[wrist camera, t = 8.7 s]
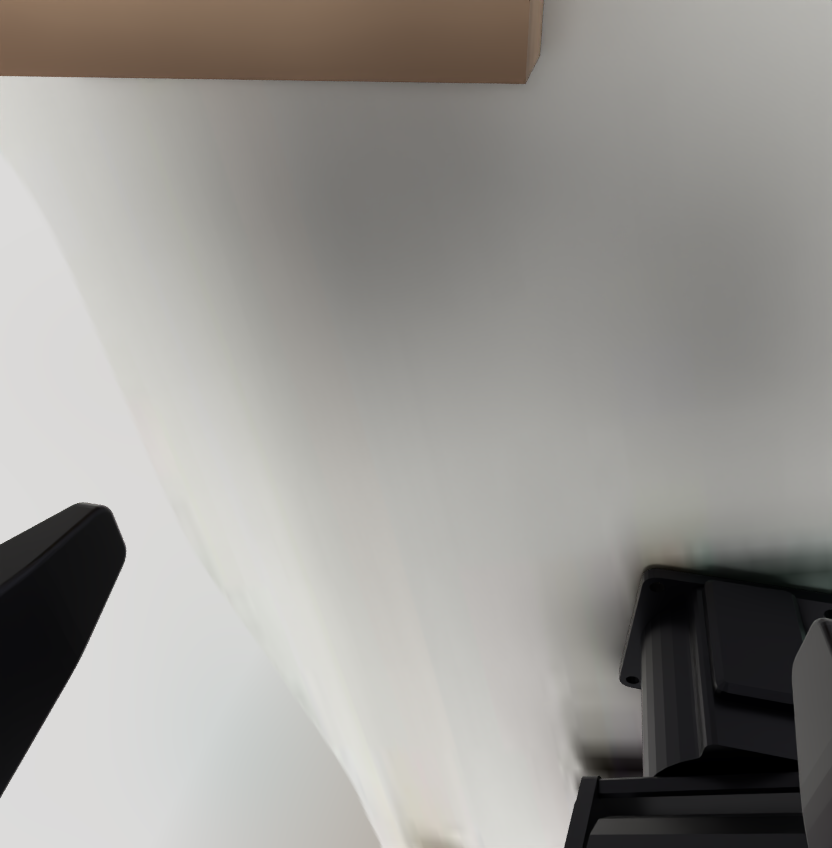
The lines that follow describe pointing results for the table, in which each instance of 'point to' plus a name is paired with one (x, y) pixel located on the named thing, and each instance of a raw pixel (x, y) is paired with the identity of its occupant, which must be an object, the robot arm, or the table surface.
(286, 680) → the table surface
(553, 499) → the table surface
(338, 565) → the table surface
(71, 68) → the walnut base
